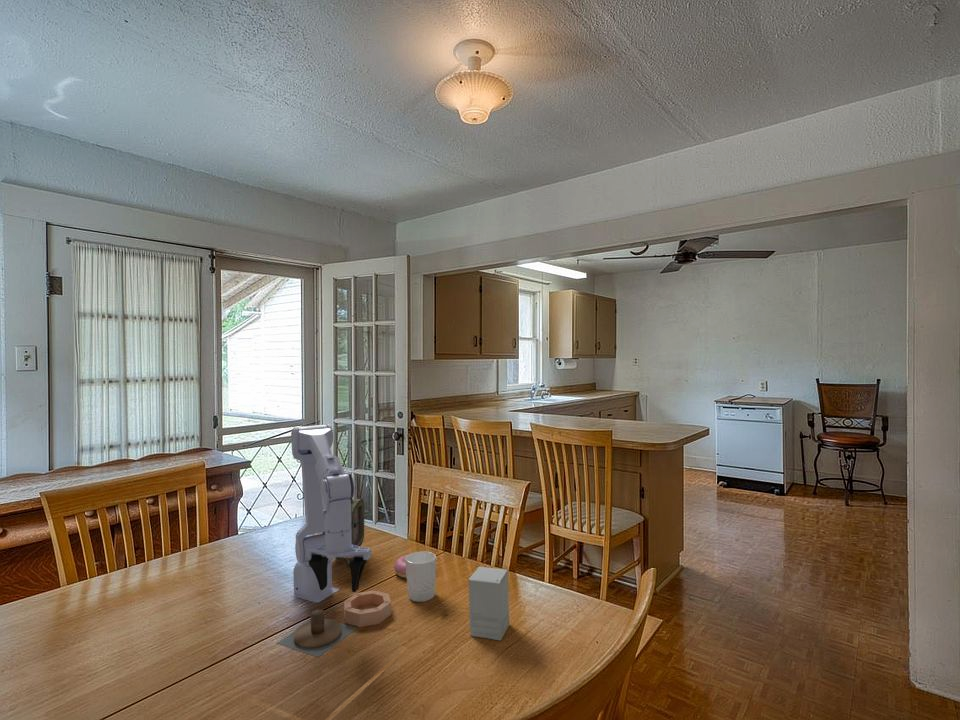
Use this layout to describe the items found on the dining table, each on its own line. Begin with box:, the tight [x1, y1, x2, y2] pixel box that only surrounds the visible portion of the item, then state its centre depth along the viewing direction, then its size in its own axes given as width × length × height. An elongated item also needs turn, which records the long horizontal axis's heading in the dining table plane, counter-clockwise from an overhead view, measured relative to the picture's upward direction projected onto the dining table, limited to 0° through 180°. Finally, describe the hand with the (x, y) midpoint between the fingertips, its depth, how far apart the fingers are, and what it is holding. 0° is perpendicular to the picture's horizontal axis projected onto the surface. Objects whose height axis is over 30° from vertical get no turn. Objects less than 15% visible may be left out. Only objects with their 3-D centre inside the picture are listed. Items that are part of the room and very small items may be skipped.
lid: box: [293, 609, 341, 649], centre depth 111 cm, size 10×10×5 cm
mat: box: [276, 617, 358, 658], centre depth 111 cm, size 12×12×1 cm
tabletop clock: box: [321, 497, 365, 569], centre depth 153 cm, size 14×9×25 cm, turn 179°
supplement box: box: [468, 566, 510, 641], centre depth 112 cm, size 7×7×13 cm
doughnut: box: [393, 553, 410, 580], centre depth 144 cm, size 11×11×4 cm
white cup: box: [405, 550, 437, 603], centre depth 129 cm, size 8×8×10 cm
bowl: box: [343, 590, 392, 628], centre depth 119 cm, size 11×11×4 cm
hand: (339, 589), depth 112 cm, fingers open, 7 cm apart
